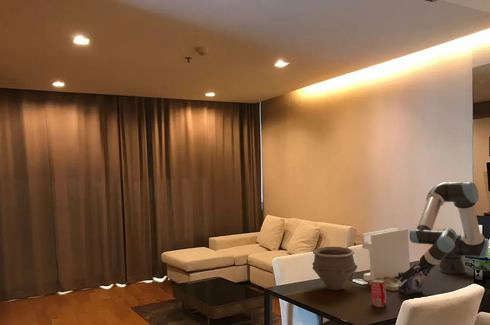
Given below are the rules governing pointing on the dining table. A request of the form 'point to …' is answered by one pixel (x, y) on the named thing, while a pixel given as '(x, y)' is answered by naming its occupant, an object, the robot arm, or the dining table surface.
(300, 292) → the dining table surface
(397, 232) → the block
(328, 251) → the planter
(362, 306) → the dining table surface
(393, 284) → the tray
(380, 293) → the soda can
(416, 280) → the small box
